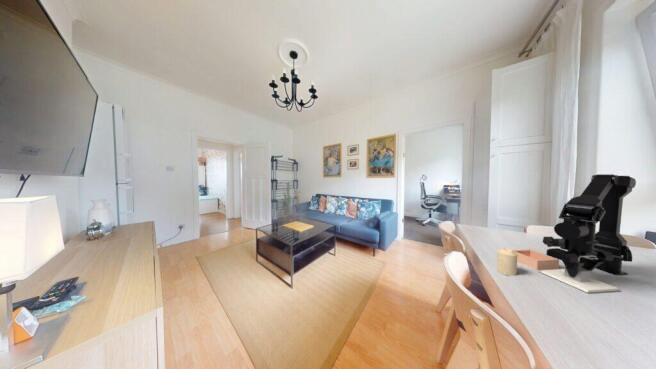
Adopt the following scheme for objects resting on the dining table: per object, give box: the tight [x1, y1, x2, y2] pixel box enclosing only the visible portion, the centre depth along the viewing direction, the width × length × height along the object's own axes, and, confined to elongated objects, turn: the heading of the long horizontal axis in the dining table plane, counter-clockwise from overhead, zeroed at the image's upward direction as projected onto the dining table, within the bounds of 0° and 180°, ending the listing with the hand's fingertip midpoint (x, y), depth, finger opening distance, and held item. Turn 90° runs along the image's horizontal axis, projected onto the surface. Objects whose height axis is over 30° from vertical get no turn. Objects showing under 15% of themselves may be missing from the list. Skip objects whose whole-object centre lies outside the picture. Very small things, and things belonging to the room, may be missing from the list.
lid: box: [540, 266, 620, 293], centre depth 65 cm, size 12×12×5 cm
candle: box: [496, 247, 518, 277], centre depth 71 cm, size 6×6×10 cm
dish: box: [511, 249, 560, 271], centre depth 78 cm, size 10×10×4 cm
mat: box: [538, 271, 623, 295], centre depth 65 cm, size 13×13×1 cm
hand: (576, 276), depth 65 cm, fingers closed on lid, 4 cm apart
